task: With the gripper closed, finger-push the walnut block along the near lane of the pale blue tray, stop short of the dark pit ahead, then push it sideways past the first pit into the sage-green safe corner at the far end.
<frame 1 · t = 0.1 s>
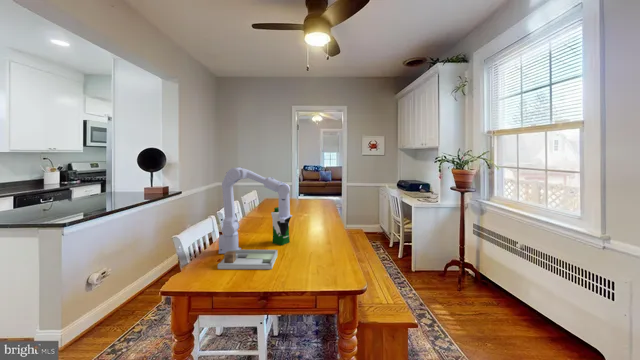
hand: (284, 232, 145), 10 cm above the table, tool pointing down, fingers open, 7 cm apart
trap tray: (249, 262, 132), on the table
milk carton: (281, 243, 160), on the table
walnut block: (230, 261, 129), point 2 cm above the table, touching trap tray
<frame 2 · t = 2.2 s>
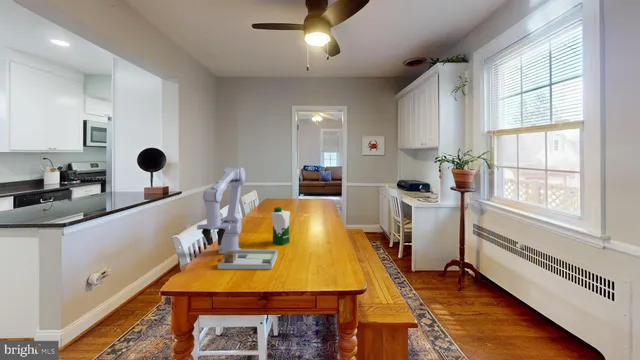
hand: (214, 244, 128), 9 cm above the table, tool pointing down, fingers open, 4 cm apart
nothing on the table moved.
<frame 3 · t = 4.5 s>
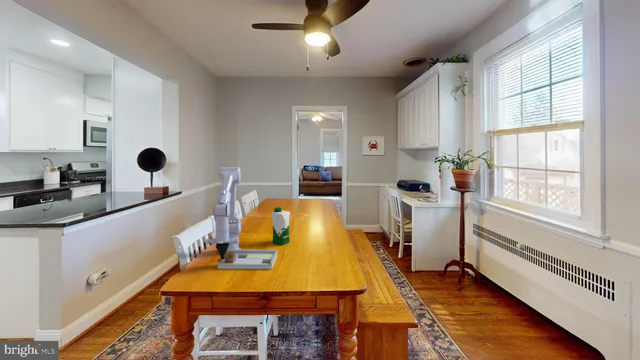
hand: (223, 258, 128), 3 cm above the table, tool pointing down, fingers closed
walnut block: (230, 261, 129), point 2 cm above the table, touching gripper, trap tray
everything else where it was.
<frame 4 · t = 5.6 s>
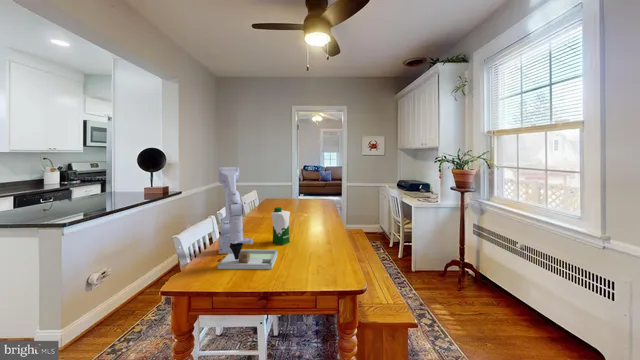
hand: (237, 258, 128), 3 cm above the table, tool pointing down, fingers closed
walnut block: (244, 261, 128), point 2 cm above the table, touching gripper
everything else where it was.
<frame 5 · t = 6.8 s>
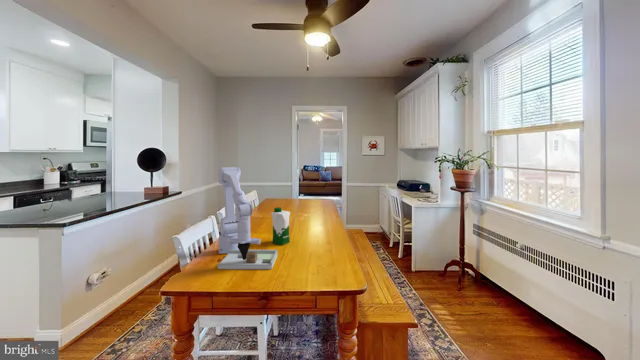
hand: (244, 258, 128), 3 cm above the table, tool pointing down, fingers closed
walnut block: (251, 261, 128), point 2 cm above the table, touching gripper, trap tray
everything else where it was.
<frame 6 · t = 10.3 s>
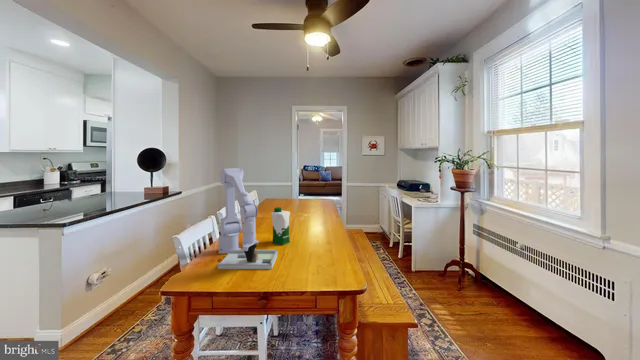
hand: (249, 260, 126), 3 cm above the table, tool pointing down, fingers closed
walnut block: (252, 260, 130), point 2 cm above the table, touching gripper, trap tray
everything else where it was.
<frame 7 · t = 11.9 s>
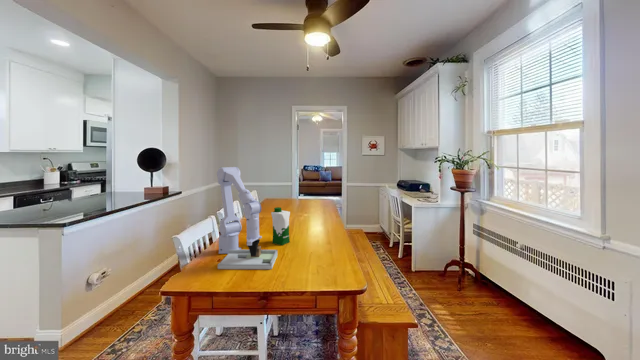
hand: (253, 255, 133), 3 cm above the table, tool pointing down, fingers closed
walnut block: (255, 255, 136), point 2 cm above the table, touching gripper, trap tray
everything else where it was.
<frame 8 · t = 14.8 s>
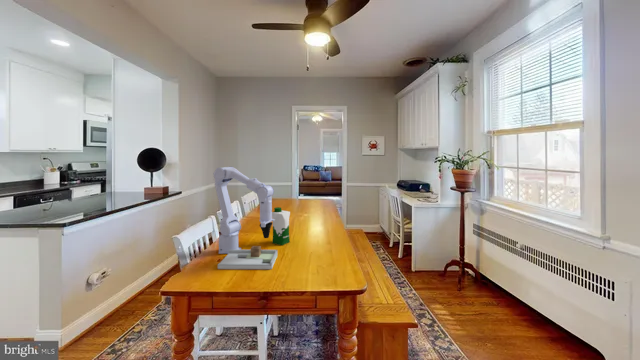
hand: (266, 237, 137), 10 cm above the table, tool pointing down, fingers closed
walnut block: (255, 255, 136), point 2 cm above the table, touching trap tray
everything else where it was.
at the end: walnut block inside the target area on the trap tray (3.2 cm from its centre), point 1.6 cm above the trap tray's base; walnut block tilted 0° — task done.
